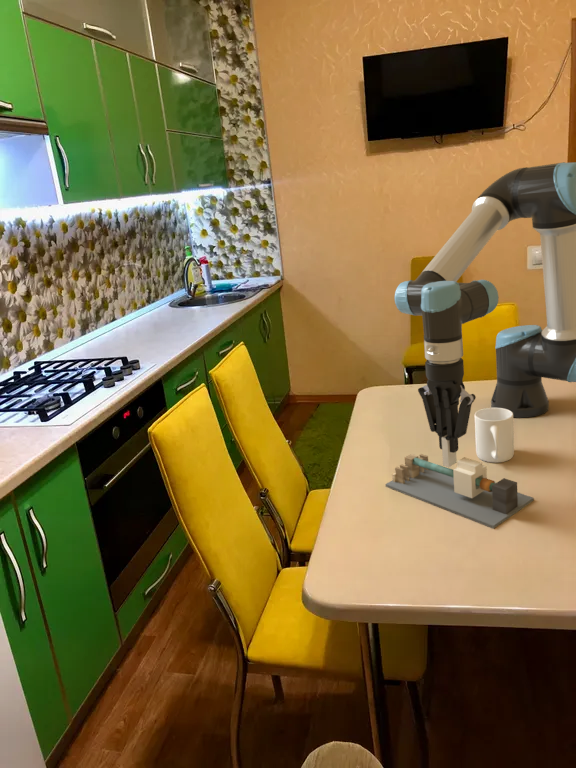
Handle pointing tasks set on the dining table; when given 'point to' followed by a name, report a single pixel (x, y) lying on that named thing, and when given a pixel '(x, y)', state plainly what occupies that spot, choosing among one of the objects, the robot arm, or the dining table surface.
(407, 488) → the mat
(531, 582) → the dining table surface
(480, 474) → the sleeve
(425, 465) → the comb rail
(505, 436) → the mug
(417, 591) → the dining table surface
